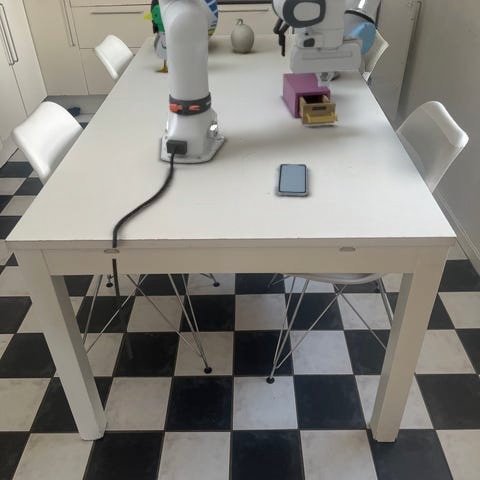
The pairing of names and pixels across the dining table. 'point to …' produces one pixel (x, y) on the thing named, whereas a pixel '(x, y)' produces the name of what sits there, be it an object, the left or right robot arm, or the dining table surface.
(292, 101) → the purple drawer cabinet
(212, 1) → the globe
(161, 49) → the toy
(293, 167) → the smartphone
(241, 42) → the fruit
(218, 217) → the dining table surface
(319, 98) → the drawer
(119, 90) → the dining table surface
